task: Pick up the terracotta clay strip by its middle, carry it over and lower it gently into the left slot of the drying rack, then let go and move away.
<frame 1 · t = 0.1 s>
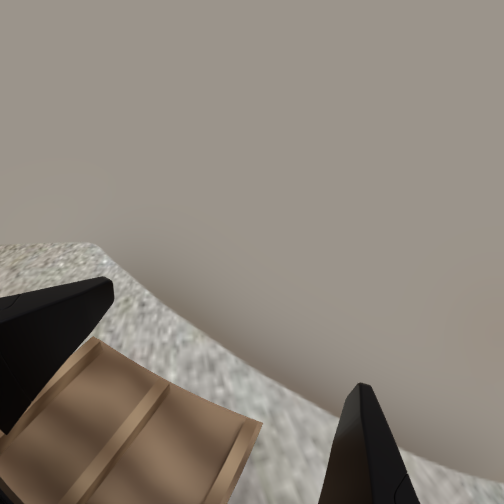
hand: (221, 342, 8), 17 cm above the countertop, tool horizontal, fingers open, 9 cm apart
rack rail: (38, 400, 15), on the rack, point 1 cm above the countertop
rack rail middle: (107, 459, 14), on the rack, point 1 cm above the countertop
rack: (112, 465, 14), on the countertop
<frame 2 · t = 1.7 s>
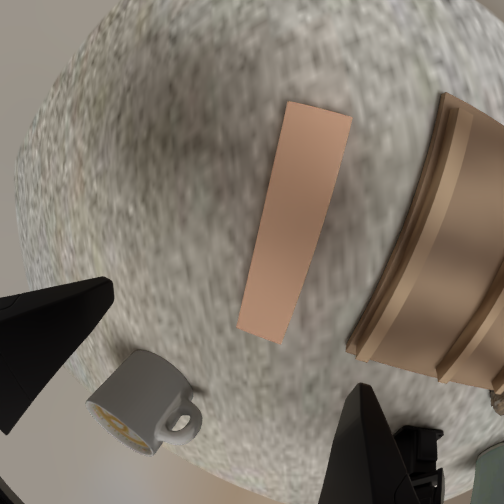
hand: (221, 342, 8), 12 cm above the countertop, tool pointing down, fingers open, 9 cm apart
disposable coffee cup: (491, 451, 20), on the countertop
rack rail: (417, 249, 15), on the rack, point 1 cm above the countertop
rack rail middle: (502, 287, 13), on the rack, point 1 cm above the countertop
rack: (493, 275, 15), on the countertop
coffee mug: (172, 382, 32), on the countertop
clay strip: (295, 226, 19), on the countertop
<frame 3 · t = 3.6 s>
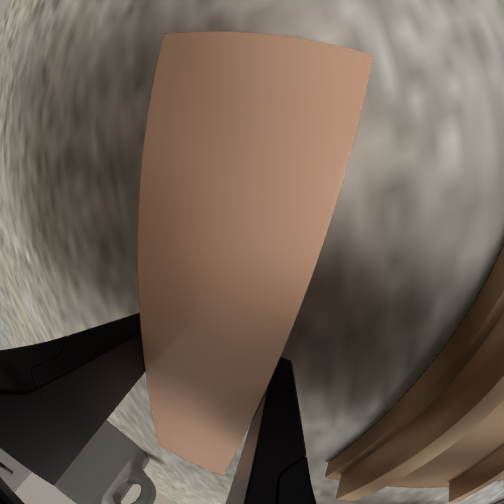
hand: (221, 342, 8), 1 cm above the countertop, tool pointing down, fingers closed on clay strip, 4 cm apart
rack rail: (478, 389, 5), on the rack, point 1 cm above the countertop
coffee mug: (125, 442, 23), on the countertop
clay strip: (236, 320, 10), on the countertop, touching gripper
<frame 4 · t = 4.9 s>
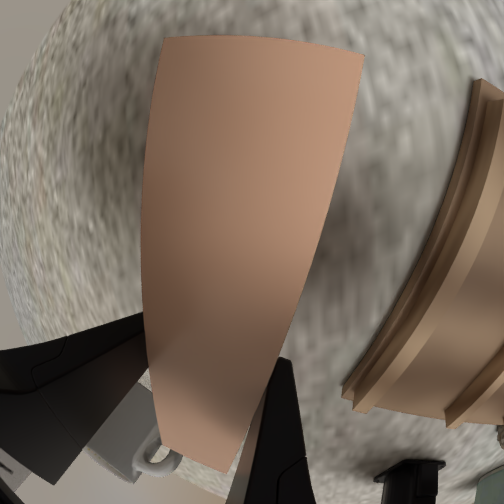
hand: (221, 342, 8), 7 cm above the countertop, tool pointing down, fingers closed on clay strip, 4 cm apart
disposable coffee cup: (494, 472, 17), on the countertop
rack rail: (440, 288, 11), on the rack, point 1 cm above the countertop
coffee mug: (152, 407, 28), on the countertop
clay strip: (238, 317, 10), point 6 cm above the countertop, touching gripper
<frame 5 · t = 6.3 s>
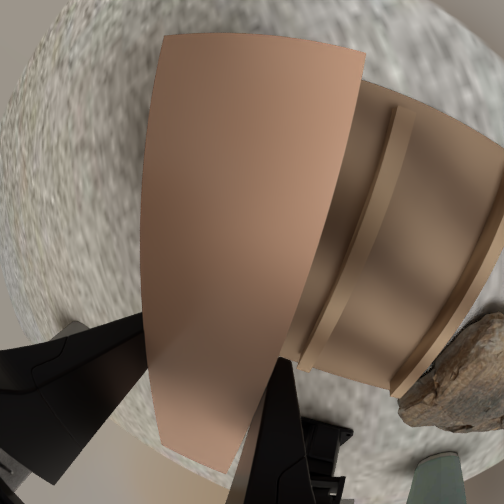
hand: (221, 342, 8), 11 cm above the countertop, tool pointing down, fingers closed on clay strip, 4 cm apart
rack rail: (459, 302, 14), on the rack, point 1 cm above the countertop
disposable coffee cup: (435, 460, 23), on the countertop
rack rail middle: (353, 262, 15), on the rack, point 1 cm above the countertop
rack: (353, 250, 17), on the countertop
brown rock: (498, 375, 16), on the countertop
clay strip: (237, 317, 10), point 9 cm above the countertop, touching gripper
when the fingers open (4 cm above the countertop, at t = 8.2 s): clay strip drops 1 cm, resting on rack.
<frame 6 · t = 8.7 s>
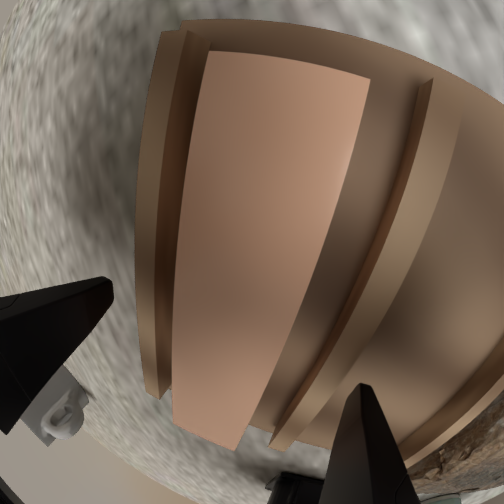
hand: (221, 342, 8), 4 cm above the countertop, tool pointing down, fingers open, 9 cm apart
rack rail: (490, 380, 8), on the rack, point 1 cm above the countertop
disposable coffee cup: (435, 500, 17), on the countertop
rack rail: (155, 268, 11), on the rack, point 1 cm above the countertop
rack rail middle: (346, 340, 9), on the rack, point 1 cm above the countertop
rack: (348, 313, 11), on the countertop
coffee mug: (71, 382, 29), on the countertop
clay strip: (252, 296, 11), point 1 cm above the countertop, touching rack
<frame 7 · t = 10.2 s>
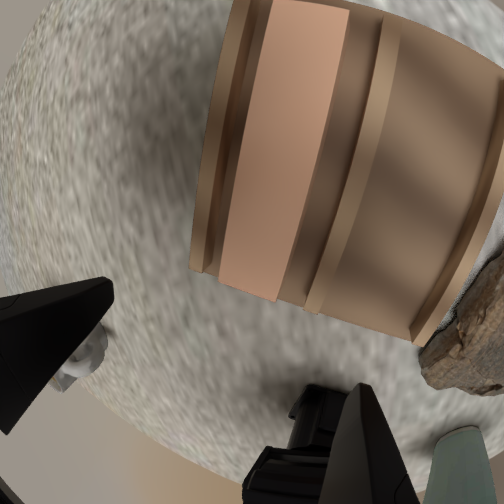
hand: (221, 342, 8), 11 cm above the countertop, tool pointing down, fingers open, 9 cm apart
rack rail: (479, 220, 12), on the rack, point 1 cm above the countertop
disposable coffee cup: (455, 437, 22), on the countertop
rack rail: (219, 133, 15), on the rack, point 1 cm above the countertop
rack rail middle: (359, 169, 13), on the rack, point 1 cm above the countertop
rack: (357, 165, 15), on the countertop
coffee mug: (91, 326, 33), on the countertop
clay strip: (289, 149, 15), point 1 cm above the countertop, touching rack
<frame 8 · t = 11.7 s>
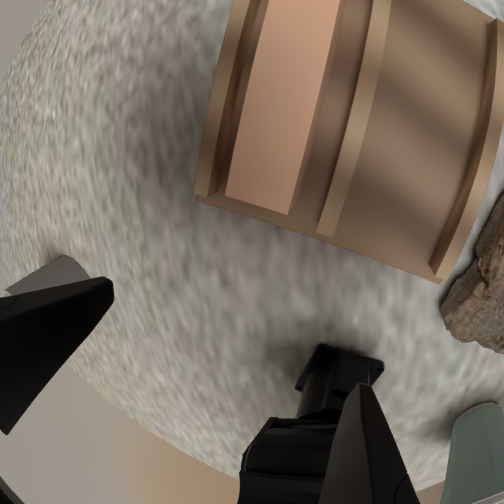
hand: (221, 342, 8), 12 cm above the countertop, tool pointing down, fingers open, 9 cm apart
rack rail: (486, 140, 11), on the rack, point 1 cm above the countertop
disposable coffee cup: (473, 416, 20), on the countertop
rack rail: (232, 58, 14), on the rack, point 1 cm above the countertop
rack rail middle: (366, 85, 12), on the rack, point 1 cm above the countertop
rack: (364, 90, 14), on the countertop
coffee mug: (85, 293, 31), on the countertop
clay strip: (299, 72, 14), point 1 cm above the countertop, touching rack
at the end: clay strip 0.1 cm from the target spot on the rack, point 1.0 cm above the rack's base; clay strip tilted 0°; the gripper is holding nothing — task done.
